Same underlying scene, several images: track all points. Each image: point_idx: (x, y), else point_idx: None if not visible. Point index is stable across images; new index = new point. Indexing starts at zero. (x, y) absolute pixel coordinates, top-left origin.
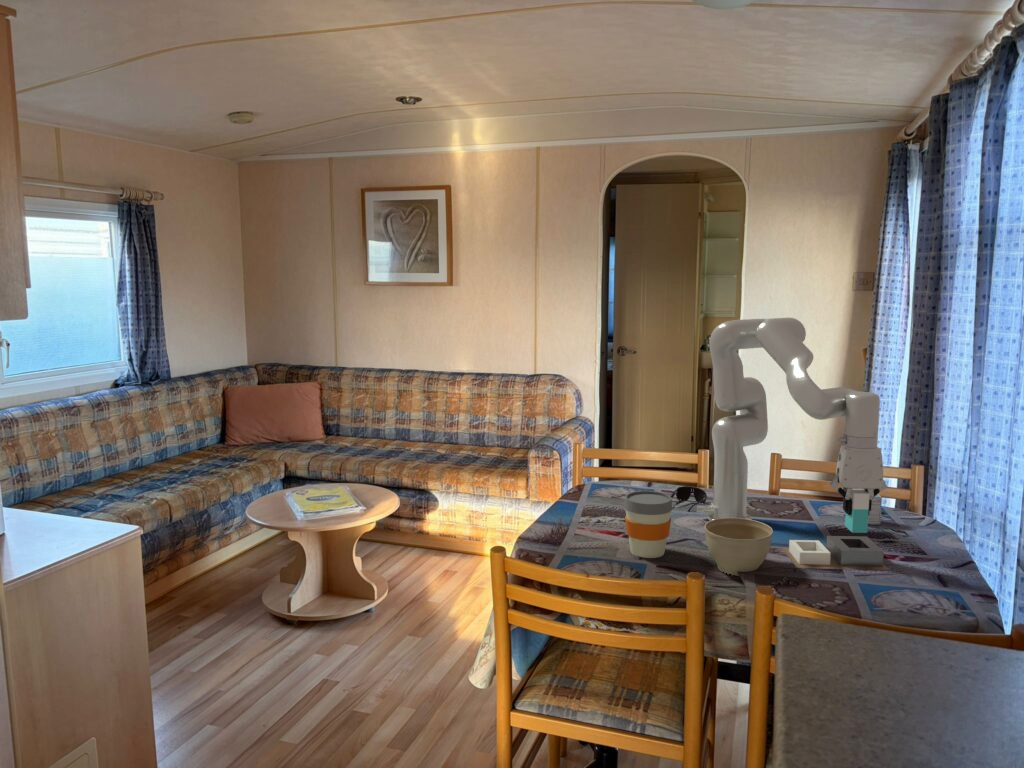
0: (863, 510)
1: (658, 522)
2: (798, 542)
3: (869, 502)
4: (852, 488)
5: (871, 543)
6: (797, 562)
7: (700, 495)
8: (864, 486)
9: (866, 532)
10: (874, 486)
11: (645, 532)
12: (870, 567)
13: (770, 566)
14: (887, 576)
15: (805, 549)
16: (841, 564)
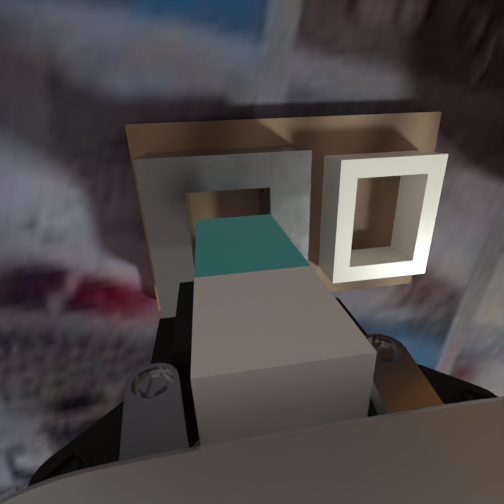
0: (232, 270)
1: None
2: (402, 260)
3: (178, 336)
4: (445, 404)
5: (163, 249)
6: None
7: None
8: (292, 461)
9: (200, 220)
10: (97, 499)
11: None
12: (192, 141)
13: (474, 168)
14: (138, 117)
15: (367, 252)
16: (292, 146)
